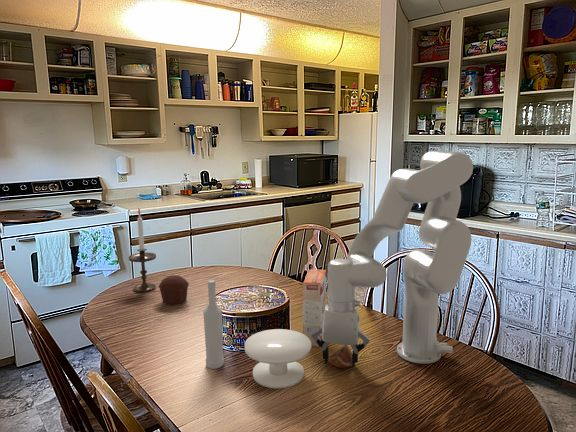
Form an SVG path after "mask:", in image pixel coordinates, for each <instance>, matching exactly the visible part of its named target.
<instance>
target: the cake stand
mask: <svg viewBox="0 0 576 432" xmlns="http://www.w3.org/2000/svg"><path fill="white" fill-rule="evenodd" d="M311 351H312V347H311V341H310V339H309V338H308V337H307V336H305V335H304V334H303V332H302V333H301V332H299V331H298V330H297V331H296V330H292V329H284V328H283V329H282V328H276V329H275V328H274V329H266V330H262V331H259V332H255V333H254V334H252V335H250V336H249V337H248V338H247V339H246V340H245V342H244V352H245V354H246V355H247V356H248V357H249V358H250V359H252V360H254V361H256V362H258V363H257V364H255V366H254V367H253V368H252V379H253V380H254V382H255V383H257V384H258V385H259V386H262V387H264V388H268V389H278V390H279V389H287V388H291V387H294V386H296V385H297V384H299V383H301V381H303V378H304V376H305V370H304V367H303V365H302V364H300V363H299V362H298V361H300V360H303V359H304V358H306V357H307V356H308V355H309V354H310V353H311Z"/></svg>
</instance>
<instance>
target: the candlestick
mask: <svg viewBox="0 0 576 432" xmlns="http://www.w3.org/2000/svg"><path fill="white" fill-rule="evenodd" d="M137 213H138V218H137V220H136V221H137V229H138V230H137V231H138V245H139V246H138V247H139V249H136V251H137V252H138V253H134V254H131V255H129V256H128V260H129V262H132V263H141V270H140V271H139V273H140V274H141V276H140V279H142V283H140V284H136V285H134V286H133V289H132V290H133V292H135V293H138V294H139V293H141V294H142V293H148V292H152V291H154V290H156V288H157V284H155V283H151V282H148V283H147V280H146V279H147V278H148V277H147V273H148V271H147V270H146V262H150V261H153V260H156V259H157V255H156V253H154V252H146V251H147V250H148V249H147V248H145V241H144V240H145V237H144V227H143V226H144V225H143V218H142V217H141V216H142V215H141V209H140V207H138V210H137Z"/></svg>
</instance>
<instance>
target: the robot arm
mask: <svg viewBox="0 0 576 432" xmlns="http://www.w3.org/2000/svg"><path fill="white" fill-rule="evenodd" d="M419 165H420V166H419V167H420V170H419V169H415V168H414V169H413V168H400V169H397V170H395V171H394V172H393V173H392V174H391V175H390V177H389V179H388V182H387V184H386V187H385V189H384V191H383V194H382V196H381V197H380V200H379V202H378V205H377V207H376V210H375V212H374V214H373V217H371V219H370V220H369V221H368V222H366V224H365V225H364V226H363V228H361V230H360V231H359V232H358V233H357V234H356V236H355V238H354V239H353V241H352V243H351V246H350V248H349V251H348V254H347V257H346V258H335V259H332V260H330V261H329V262H328V264H327V297H326V302H327V303H326V306H325V310H324V316H323V326H322V327H321V328H319V329H318V330H317V331H315V332H314V333H313V334H312V337H313V339H314V340H315V341H316V343H317V344H318V345H319V346H320V347H319V348H320V349H321V351H322V360H324V364H325V365H326V364H328V363H329V360H328V358H329V356H330V355H329V351H330V350H329V349H330V347H329V344H336V345H343V346H344V345H347V346H350V347H351V349H352V352H351V353H352V364H351V366H352V367H353V368H355V367H356V364H358V361H359V354H360V353H359V352H361V351H362V350H364V348H365V347H366V346H367V345H368V344H369V343H370V341H371V339H370V337H368V336H367V335H366V334H365V333H364V332H362V330H361V329H360V313H359V309H358V307H360V306H361V301H360V300H357V299H356V288H367V289H369V288H371V289H372V288H378V287H380V286H382V285H383V284H384V283H385V281H386V279H387V270H386V268H385V266H384V265H383V264H382V263H381V262H379V261H378V260H376V259H375V258H374V257H373V255H374V253H375V250H376V248H377V247H378V245H379V244H380V243H381V241H383V240H384V239H386V238H387V237H389V236H392V235H394V234H397V233H399V232H401V231H402V230H403V229H404V227H405V224H406V222H407V219H408V217H409V215H410V213H411V210H412V207H413V206H414V204H417V205H418V204H426V203H427V204H426V207H425V210H424V214H423V217H422V220H421V222H420V226H419V230H418V238H419V240H420V241H421V243H422V244H424V245H426V246H428V247H430V248H432V249H434V252H431V251H429V250H426V249H422V248H420V249H419V248H418V249H417V248H416V249H413V250H411V251H409V252H408V253H407V255H405V258H404V259H403V263H402V274H403V282H404V283H403V284H404V302H403V303H404V304H403V322H402V323H403V325H402V342H400V343H399V344H398V345H397V346H396V353H397V355H398V356H399V357H400V358H402V359H403V360H405V361H407V362H411V363H415V364H422V365H425V364H427V365H429V364H432V363H433V364H434V363H436V362H438V361H440V360H441V358H442V353H446V354H453V352H454V349H453V348H454V347H453V346H451V345H448V343H447V342H440V341H439V340H438V338H437V333H438V332H437V330H438V329H437V328H438V316H439V314H438V313H439V301H440V299H439V298H440V296H439V295H446V294H448V293H450V292H451V291H453V290H454V289H455V287H456V286H457V284H458V283H459V280H460V278H461V275H462V273H463V269H464V267H465V263H466V261H467V258H468V255H469V252H470V249H471V245H472V233H471V230H470V229H469V228H470V227H468V225H467V224H466V223H464V222H463V221H461V220H458V219H457V217H458V213H459V209H460V206H461V201H462V190H461V187H460V186H462V185H463V184H465V183H466V182H468V180H469V179H470V178H471V176H472V175H473V170H474V163H473V161H472V159H471V157H470V156H469V155H467V154H466V153H464V152H459V151H448V150H430V151H427V152H426V153H424V154H423V155H422V157H421V159H420V163H419ZM320 334H322V339H321V338H320V337H319V335H320ZM359 339H361V340H362V342H360V343H359Z"/></svg>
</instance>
